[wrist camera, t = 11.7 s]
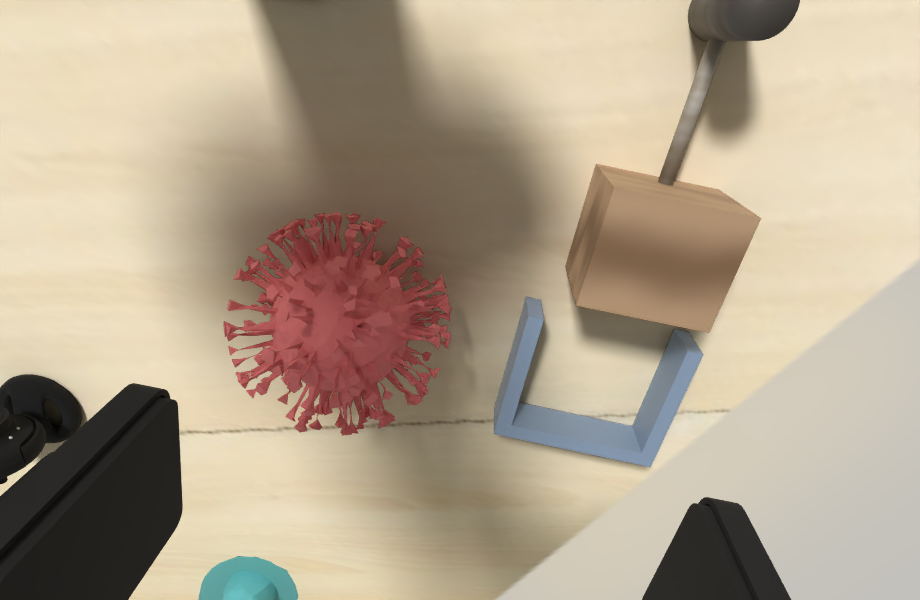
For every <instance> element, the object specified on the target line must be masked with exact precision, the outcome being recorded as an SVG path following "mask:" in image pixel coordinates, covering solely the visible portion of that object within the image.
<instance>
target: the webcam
mask: <svg viewBox="0 0 920 600" xmlns="http://www.w3.org/2000/svg"><path fill="white" fill-rule="evenodd" d="M46 398H48V399H50V400H51V401H52V402H53V403H54V404H55V405H56V406H57V408H58V409H59V410H60V412H61V415H62V419H63V422H62V424H61V426H59V427H57V428H53V427H52V426H51V424H50V423H49V421H48V419H47V416H46V412H45V408H44V401H45V399H46ZM80 423H81V412H80V408H79V406H78V404H77V402H76V400H75V399H74V398H73V396H72V395H71V394H70V393H69V392H68V391H67V390H66V389H65V388H63V387H62V386H60V385H59V384H57V383H55V382H54V381H52V380H51V379H48V378H46V377H42V376H38V375H27V374H26V375H19V376H16V377H13V378H10V379H9V380H7V381H6V382H5V383H4V384H3V385H2V386H1V387H0V484H3V483H5V482H7V480H8V479H7V476H9V475H11V474H13V473H15V472H17V471H19V470H21V469H22V468H24V467H26V465H28V464H29V463H31V462H32V461H33V460H34V459H35V458H36V457H37V456H38V455H39V454H40V452H41V451H42V449H43V447H44V445H45V443H57V442H61V441H64V440H67V439H68V438H70V437H71V436H72V435H73V434H74V433H75V432H76V431H77V430H78V428H79V426H80Z"/></svg>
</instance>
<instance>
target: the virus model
mask: <svg viewBox="0 0 920 600" xmlns="http://www.w3.org/2000/svg"><path fill="white" fill-rule="evenodd" d="M324 214H325V213H324ZM324 214H316V215H314V216H315V217H316V218H315V219H311V220H307V221H308V223H309V224H310V225H311V228H308V229H305V219H296V220H294V221H292V222H291V223H289V224H288V226H284V227H282V228H281V229H277V230H276V231H275V232H274V233H272V234H271V235H269V237H267V238H268V239H269V240H271V241H272V242H273V243H275V244H276V245H278V246H279V247H281V248H282V249H283V250H284V252H285V253H286V255H287V256H288V258H289V259H290V261H291V262H292V264H293V265H292V266H291V267H290V269H289V270H287V269H286V268H285V267H284V266H283V265H282V264H281V263H280V262H279V258H278V259H276V258H275V256H274V255H273V254H272V253H271V251H270V248H269V246H268V244H265V245H263V246H261V247H260V248H258V249H257V250H259V251H261V252H262V253H264V254H266V255H268V256H270V257H271V258H273V259H274V260H275V261H273V262H271V260H270V258H268V257H267V258H266V259H265V260H264V261H263V262H262V264H261V265H264V266H268V267H269V269H274V271H275V273H276V275H278V276H280V277H282V278H275V277H274V276H272V275H271V274H270V273H269V272H267V271H266V270H265V269H264V268H263V267H260V263H259V260H257V261H255V260H254V259H253V258H252V257H250V256H248V259H247V262H246V265H248V266H251V267H249V270H248V271H246V272H245V273H244V272H243V270H242V269H241V268H240V269H239V270H238V271H237V273H236V275H235V277H234V279H233V280H238V279H242V281H248V280H250V281H251V282H253V283H255V284H256V285H258V286H260V287H261V288H263V289H265V290H266V294H265V293H263V292H262V293H261V295H260V297H259V298H258V300H257V302H260V303H262V304H263V305H262V307H259V306H258V305H256V304H255V305H251V306H245V305H242V304H239V303H237V302H234V301H231V300H229V303H228V311H231V310H242V309H250V310H255V311H260V312H263V314H264V315H266V314H268V313H270V314H271V317H270V322H264V323H260V324H258V325H256V324H255V323H253V322H252V321H250V320H247V321H244V326H245V327H235V326H233V325H231V324H229V323H227V322H225V321H224V333H225V337H226V336H227V339H228V341H230V340H232V339H233V338H235V337H237V336H238V335H242V336H258V335H270V334H272V337H273V340H271V341H267V342H263V343H260V344H256V345H253V346H249V347H246V348H242V349H250V348H258V347H263V350H262V351H261V352H260V353H259V354H262V355H258V354H257V355H256V356H255V355H254V356H255V358H254V360H255V361H256V362H257V363H258V365H260V366H258V367H256V368H255V369H253V370H251V371H247V372H241V373H239V372H236V373H235V374H236V375H237V377H238V382H239V383H240V384H241V385H242V386H243V387H244V388H246V386H247V384H248V382H249V381H250V380H252V379H254V378H257V377H258V376H259V375H261V374H263V373H265V372H267V371H271V372H273V371H274V372H273V373H272V374H271V375H270V376H269V377H267V378H263V379H262V380H260V381H262V382H263V383H258V384H257V386H256V389H254V390H246V391H247V392H248V393H249V395H250V396H251V397H252V398H254V395H255V392H256V391H257V392H258V393H259V394H260V395H263V394H266V393H267V390H268V388H269V385H270V382H271V381H272V380H274V379H275V378H276V377H278V376H279V375H281V376H283V372H285V376H284V377H282V378H281V379H282V380H283V382H284V383H285V385H288V387H287V388H288V389H289V392H288V393H287V394H285V395H283V396H282V397H280V398H279V399H277V400H279V401H281V402H283V403H284V404H286V405H287V400H288V394H289V393H290V392H291V391H292V392H293V393H295V392H296V391H298V390H299V389H300V388H302V387H303V386H302V383H301V380H302V381H303V382H305V383H306V384H307V385H306V387H305V389H304V391H303V392H302V394H301V396H300V398H299V400H298V402H297V404H296V405H295V406H294V407H293V408H292V410H291V411H290V412H289V413H288V414H287V415H286V416H285V417H287V418H289V419H291V420H293V421H295V419H294V416H295V413H296V411H297V409H298V407H299V405H300V403H301V401H302V399H303V397H304V396H305V394H306V392H307V390H308V388H309V396H308V398H307V399H306V400H305V401H304V402H303V403H302V404H301V407H303V408H304V409H306V410H305V411H303V412H302V413H301V416H300V417H299V418H298V420H299V423H298V424H297V425H296V426H294V427H295V428H296V429H297V430H298V431H299V432H304V431H307V428H306V424H307V423H308V420H311V419H312V417H311V416H312V415H315V413H318V415H319V414H321V415H323V414H324V415H327V414H330V413H332V410H331V408H337V407H339V410H340V414H339V417H338V420H337V421H336V423H335V425H336V426H337V427H338V428H341V427H342V430H341V433H342V435H351V434H352V433H358V431H357V429H364V425H363V423H365V422H367V420H366V417H369V416H370V419H372V418H374V419H375V420H379V419H380V421H379V426H378V428H381V427H384V426H386V425H387V424H389V423H390V422H392V421H395V419H394V416H393V415H392V414H390V413H389V412H387V411H386V410H384V407H383V403H382V400H381V396H380V393H379V389H378V386H377V382H380V381H381V380H382V379H383V378H384V377H386V378H387V379H388V380H389V381H390V382H391V383H392V384H393V385H394V386H395V387H396V388H397V389H398V390H400V391H401V392H403V393H404V394H405V397H406V400H407V404H413V405H417V404H418V403H420V402H421V401H422V397H423V396H424V395H426V394H427V391H428V389H427V387H426V383H428V381H429V379H430V376H431V375H432V376H433V378H435V376H436V375H437V373H438V372H439V370H440V369H441V367H440V368H437V369H435V370H433V369H430V368H428V367H426V366H425V365H424V364H423V363H422V362H421V361H420V360H419V359H418V357H416V356H414V355H412V354H410V353H409V352H411V353H415V354H420V353H419V352H417V351H415V350H413V349H411V348H409V347H407V342H408V340H424V341H430V342H431V343H432V344H433V345H434V346H435V347H436V348H437V349H439V346H440V343H442V344H443V345H444V346H445V347H446V348H447V349H448V345H449V340H450V338H451V334H450V332H448V333H447V328H446V325H445V326H442V327H441V326H439V325H437V324H438V320H439V318H440V317H441V318H444V319H446V320H449V321H450V311H451V310H452V309H451V306H450V303H449V299H448V294H447V295H445V294H443V295H440V296H439V295H434V296H432V297H431V298H430V299H429V300H428V297H426V296H424V295H429V294H431V293H433V292H435V291H439V292H444V293H446V291H445V288H446V286H445V283H444V280H443V278H442V276H441V273H440V278H438V279H437V280H435V281H434V282H432V283H430V284H436V285H435V286H434V287H433V288H432V289H430V290H426V291H423V292H421V291H420V290H422V289H423V288H425V287H430V284H429V282H428V280H427V278H426V279H424V280H423V281H422V282H421V284H420V285H419V286H417V287H412V288H410V289H408V290H406V291H402V290H401V288H402V287H403V286H405V285H406V284H408V283H409V282H411V281H415V282H418V281H419V280H420V279H422V276H421V275H420V274H419V272H418V271H416V272H414V273H413V279H412V280H410V281H408V282H406V283H404V284H402V285H400V283H399V280H400V279H402V278H403V277H405V276H406V275H408V274H409V273H410V272H411V271H412V270H413V269H412V270H411V271H410V272H408V273H407V274H406V275H405V276H403V277H401V278H399V277H400V276H401V275H402V274H403V272H404V271H405V270H406V268H407V267H412V266H416V267H415V268H417V267H424V264H423V263H422V262H421V261H420V260H418V259H417V262H416V260H415V259H416V258H423V256H422V254H423V252H422V250H421V249H420V248H419V247H417V248H416V250H415V252H414V253H413V254H412V255H411V256H410V257H409V258H407V260H405V261H404V262H403V263H402V264H401V265H399V266H397V267H396V268H394V269H393V270H391V271H390V267H391V265H392V264H393V263H394V262H395V260H397V259H401V258H406V249H408V248H410V247H412V246H414V245H413V244H411V243H410V242H409V240H408V238H407V237H400V239H399V244H398V246H397V252H395V253H394V254H393V255H392V256H391V257H390V259H389V260H388V261H387V262H386V263H385V264H384V265H382V266H380V265H379V264H377V263H375V262H376V261H377V260H378V259H380V257H381V255H382V253H383V252H380V251H378V250H377V251H375V252H374V253H372V249H373V245H374V241H375V237H376V235H375V232H376V231H377V230H378V229H379V228H380V227H381V226H383V225H384V224H385V223H386V222H385V221H382V220H380V219H378V218H376V217H375V219H374V220H373V224H371V223H369V222H367V221H364V222H362V223H361V224H362V225H359V224H354V222H355V223H356V222H357V220H358V219H359V217H360V215H358V214H356V213H354V214H352V216H351V215H346V217H347V218H348V219H349V221H350V224H348V227H349V229H347V230H346V232H345V235H344V237H345V239H346V242H347V246H346V248H345V251H344V253H343V252H342V248H341V244H340V239H339V235H338V233H339V228H340V224H341V220H342V216H341V214H340V213H339V212H336V213H332V214H330V215H324ZM324 218H325V219H326V221H327V222H328V224H329V229H330V243H329V242H328V240H327V238H326V235H325V233H324V224H323V219H324ZM318 220H319V221H320V223H321V225H322V229H321V228H320V227H318V226H317V221H318ZM332 221H334V223H335V224H336V234H335V240H334V237H333V234H332V231H331V227H330V224H331V222H332ZM298 225H299V226H301V227H302V229H303V230H304V232H305V236H306V238H307V241H308V242H307V241H306V240H305V239H304V238H303V237H302V236H301V234H300V232H299V230H298ZM360 229H361V231H362V234H363V236H364V240H363V245H362V248H361V251H360V254H359V257H355V253H356V252H357V250H358V249H359V247H360V245H361V243H358V242H355V241H354V239H355V237H356V234H357V232H358V231H359V230H360ZM373 229H374V234H373V236H372V238H371V240H370V242H369V243H368V245H367V247H366V249H365V251H364V248H365V242H366V237H367V236H368V235H369V234H370V232H371V231H372V230H373ZM285 230H287V231H286V232H285ZM321 230H322V234H323V248H322V245H321V242H320V239H319V236H320V233H321ZM295 233H296V234H297V235H298V238H299V240H298V239H297V237H296V236H295ZM284 237H285V238H287V239H289V240H290V241H292V242H293V243H294V248H295V250H296V251H295V250H294V249H293V248H292V247H291V246H290V245H289V244H288V243H287V242H286V241H285V240H284ZM309 238H310V239H311V240H313V241H314V242H316V246H317V251H318V255H316V253H315V250H314V248H313V246H312V244H311V241H310V239H309ZM283 240H284V241H285V243H286V245H287V246H288V248H289V249H290V251H291V253H292V254H293V255H292V254H291V253H290V252H289V251H288V250H287V249H286V248H285V247H284V245H283ZM283 247H284V248H283ZM372 255H373V256H372ZM396 257H397V258H396ZM373 258H374V262H373V261H371V260H372V259H373ZM279 265H280V266H281V267H282V268H281V267H280V266H279ZM415 268H414V269H415ZM277 269H280V270H281V271H282V272H283V273H284V274H283V273H282V272H280V271H279V270H277ZM257 271H260V272H262V273H263V274H264V275H265V276H266V277H265V276H263V275H261V274H259V273H257ZM252 274H257V275H258V276H260V277H261V278H262V279H264V280H265V281H263V280H261V279H259V278H256V277H254V276H252ZM267 277H268V278H267ZM253 280H255V281H253ZM418 287H421V288H418ZM417 288H418V289H417ZM276 296H277V298H276ZM417 297H420V299H419V300H414V299H416V298H417ZM265 302H268V303H269V305H270V306H271V307H272V308H269V307H268V305H267V304H264V303H265ZM427 305H435V306H427ZM424 306H426V307H424ZM436 307H438V308H440V309H441V310H443V311H444V312H446V313H444V314H441V315H440V313H441V311H433V313H432V314H430V311H429V310H432V309H434V308H436ZM416 313H418V314H416ZM415 315H423V316H415ZM430 317H432V318H431V319H429V320H426V321H424V320H416V319H420V318H430ZM416 322H418V323H416ZM424 322H428V323H433V324H432V325H431V326H429V327H425V324H424ZM238 329H240V330H243V331H245V332H247V331H252V332H248V333H243V334H236V333H233V332H234V331H235V330H238ZM438 333H440V334H441V335H440V336H441V337H443V338H444V339H446V341H444V342H440V341H441V340H440V336H439V335H438ZM433 335H435V337H433ZM421 336H425V337H426V338H427V339H425V338H423V337H421ZM428 339H429V340H428ZM266 346H271V347H269V348H265V347H266ZM228 347H229V346H228ZM242 349H239V350H242ZM275 350H276V351H275ZM236 351H238V349H235V348H232V347H229V352H230V355H231V354H233V353H234V352H236ZM420 355H422V357H423V360H425V361H429V358H430V356H431V353H429V352H425V353H423V354H420ZM251 357H253V356H251ZM248 358H250V357H248ZM248 358H243V359H232V362H233V364H234V366H235V367H237V366H238V365H239V364H241V363H242V362H243V361H244V360H246V359H248ZM405 361H409V362H410V364H411V365H416V364H421V365H423V366H425V367H426V368H427V369H428V370H429V371H430V373H431V374H427V373H418V372H417V371H415V370H413V369H412V368H411V367H410V366H409V365H407V363H406V362H405ZM403 365H404V366H406V367H408V368H410V369H412V370H413V371H415V372H416V373H417V374H418V376H419V378H420V379H421V381H419V380H417V379H416V378H415V377H414V376H413V375H412V374H410V373H409V372H408V369H405V368H404V366H403ZM393 368H394V369H395V370H396V371H398V372H399V373H400V374H401V375H403V376H404V377H405V378H406V379H407V380H408V381H409V383H410V384H411V385H415V386H416V389H417V391H418V394H419V396H417V395H414V394H411V393H410V392H409V391H407V390H406V389H405V388H404V387H403V386H402V384H401V383H400V382H399V381H398V379H397V377H396V376H395V374H394V372H393V371H392V369H393ZM250 372H251V373H250ZM247 373H249V374H251V375H249V374H247ZM245 374H247V375H245ZM248 375H249V376H248ZM251 376H252V377H251ZM249 377H251V378H250V379H249ZM395 381H396V382H397V383H398V384H399V385H400V386H401V387H402V388H403V389H404V390H403V389H401V388H400V387H399V385H398V384H397V383H396V382H395ZM380 383H381V382H380ZM381 385H382V383H381ZM309 386H310V387H309ZM382 386H383V385H382ZM383 388H384V394H383V398H382V399H390V398H391V396H392V395H393V394H392V393H390V392H388V391H387V390H385V387H384V386H383ZM332 391H334V392H333V394H332V396H331V393H332ZM336 391H338V396H337V394H336ZM319 393H320V398H319V404H318V405H317V406H315V407H314V401H315V400H316V398H317V396H318V395H319ZM360 395H361V396H362V399H363V403H364V408H362V404H361V397H360ZM364 395H365V396H364ZM330 396H331V398H330ZM326 398H327V399H326ZM329 398H330V400H329ZM353 399H354V402H355V405H356V408H357V411H358V414H359V423H358V425H357V428H355V426H354V424H353V422H352V416H351V419H350V426H349V427H348V424H347V404H348V406H349V408H350V414H351V406H352V402H353ZM324 402H325V403H324ZM372 404H373V405H374V407H375V410H374V409H373V408H372V407H371V405H372ZM341 406H342V408H343V414H344V418H343V416H342V413H341ZM379 406H380V407H381V409H382V410H383V412H382V411H381V410H380V407H379ZM360 410H361V413H360ZM314 412H315V413H314ZM322 413H323V414H322ZM318 415H317V417H318ZM309 426H310V427H311V428H313V429H317V430H320V429H321V428H322V426H321V425H320V423H319V421H318V419H317V420H316V421H315V422H313V423H312V424H310V425H309Z"/></svg>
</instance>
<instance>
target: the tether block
mask: <svg viewBox="0 0 920 600" xmlns="http://www.w3.org/2000/svg"><path fill="white" fill-rule="evenodd" d="M799 3H800V0H692V1H691V4H690V7H689V11H688V22H689V26H690V28H691V30H692V32H693V33H694V34H695V35H696V36H697V37H698V38H700V39H702V40H705V41H708V42H707V44H706V47H705V50H704V53H703V56H702V58H701V61H700V64H699V67H698V70H697V73H696V75H695V78H694V81H693V84H692V87H691V89H690V92H689V95H688V98H687V101H686V104H685V106H684V109H683V112H682V115H681V118H680V120H679V123H678V126H677V129H676V132H675V135H674V137H673V140H672V143H671V146H670V149H669V151H668V154H667V157H666V160H665V163H664V166H663V168H662V171H661V174H660V177H656V176H651V175H647V174H642V173H637V172H632V171H628V170H623V169H618V168H613V167H609V166H604V165H599V164H596V166H595V169H594V172H593V176H592V179H591V182H590V186H589V189H588V192H587V196H586V199H585V202H584V206H583V209H582V212H581V216H580V219H579V222H578V226H577V229H576V232H575V236H574V239H573V242H572V246H571V249H570V252H569V256H568V259H567V262H566V266H565V267H566V270H567V274H568V278H569V281H570V285H571V288H572V292H573V296H574V299H575V303H576V306H581V307H586V308H590V309H595V310H600V311H605V312H610V313H615V314H620V315H624V316H629V317H634V318H639V319H644V320H649V321H653V322H658V323H663V324H668V325H673V326H678V327H683V328H687V329H692V330H697V331H702V332H707V333H709V332H710V330H711V328H712V326H713V324H714V321H715V319H716V317H717V315H718V313H719V310H720V308H721V306H722V304H723V301H724V299H725V297H726V295H727V293H728V290H729V288H730V286H731V284H732V282H733V279H734V277H735V275H736V273H737V271H738V268H739V266H740V264H741V262H742V260H743V257H744V255H745V253H746V251H747V249H748V246H749V244H750V242H751V240H752V238H753V235H754V233H755V231H756V229H757V226H758V224H759V222H760V220H761V218H760V217H759V216H757V215H756V214H754V213H753V212H751V211H750V210H748V209H747V208H745V207H744V206H742V205H741V204H739V203H738V202H736V201H735V200H733V199H732V198H730V197H729V196H728V195H726V194H725V193H723V192H722V191H720V190H718V189H713V188H708V187H703V186H699V185H694V184H689V183H685V182H680V181H675V178H676V175H677V172H678V170H679V167H680V164H681V161H682V159H683V156H684V153H685V151H686V148H687V145H688V142H689V140H690V137H691V134H692V132H693V129H694V126H695V123H696V121H697V118H698V115H699V113H700V110H701V107H702V104H703V102H704V99H705V96H706V94H707V91H708V88H709V85H710V83H711V80H712V77H713V75H714V72H715V69H716V66H717V64H718V61H719V58H720V56H721V53H722V50H723V47H724V45H725V42H726V41H760V40H766V39H769V38H771V37H774V36H775V35H777V34H779V33H780V32H781V31H783V30H784V29H785V28H786V27H787V26H788V25H789V23H790V22H791V21H792V19H793V18H794V16H795V14H796V12H797V10H798V7H799Z"/></svg>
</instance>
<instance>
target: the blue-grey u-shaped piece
mask: <svg viewBox="0 0 920 600" xmlns="http://www.w3.org/2000/svg"><path fill="white" fill-rule="evenodd" d="M543 321H544V317H543V311H542V304H541V300H538V299H534V298H529V297H526V299H525V303H524V306H523V310H522V313H521V317H520V320H519V324H518V327H517V331H516V334H515V338H514V341H513V345H512V348H511V352H510V355H509V359H508V362H507V366H506V369H505V373H504V376H503V380H502V383H501V387H500V390H499V394H498V397H497V401H496V404H495V408H494V434H496V435H501V436H505V437H510V438H515V439H520V440H524V441H529V442H534V443H539V444H543V445H548V446H553V447H558V448H562V449H567V450H572V451H577V452H581V453H586V454H591V455H596V456H600V457H605V458H610V459H615V460H619V461H624V462H629V463H634V464H638V465H643V466H648V467H651V465H652V463H653V461H654V459H655V457H656V455H657V452H658V450H659V448H660V446H661V444H662V442H663V440H664V437H665V435H666V433H667V431H668V429H669V427H670V425H671V423H672V420H673V418H674V416H675V414H676V412H677V410H678V408H679V405H680V403H681V401H682V399H683V397H684V395H685V393H686V391H687V388H688V386H689V384H690V382H691V380H692V378H693V376H694V374H695V371H696V369H697V367H698V365H699V363H700V361H701V359H702V356H703V353H702V352H701V350H700V349H699V347H698V345H697V344H696V342H695V341H694V339H693V338H692V336H691V335H690V333H689V332H686V331H681V330H677V329H674V331H673V333H672V336H671V338H670V340H669V343H668V345H667V347H666V349H665V352H664V354H663V356H662V359H661V361H660V363H659V366H658V368H657V370H656V373H655V375H654V377H653V380H652V382H651V384H650V387H649V389H648V391H647V394H646V396H645V398H644V400H643V403H642V405H641V407H640V410H639V412H638V414H637V417H636V419H635V421H634V424H633V426H629V425H624V424H619V423H615V422H610V421H605V420H601V419H596V418H591V417H587V416H582V415H577V414H572V413H568V412H563V411H558V410H554V409H549V408H544V407H539V406H535V405H530V404H525V403H521V402H519V399H520V396H521V393H522V390H523V386H524V383H525V380H526V377H527V373H528V370H529V367H530V364H531V360H532V357H533V354H534V351H535V347H536V344H537V341H538V338H539V334H540V331H541V328H542V325H543Z"/></svg>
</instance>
